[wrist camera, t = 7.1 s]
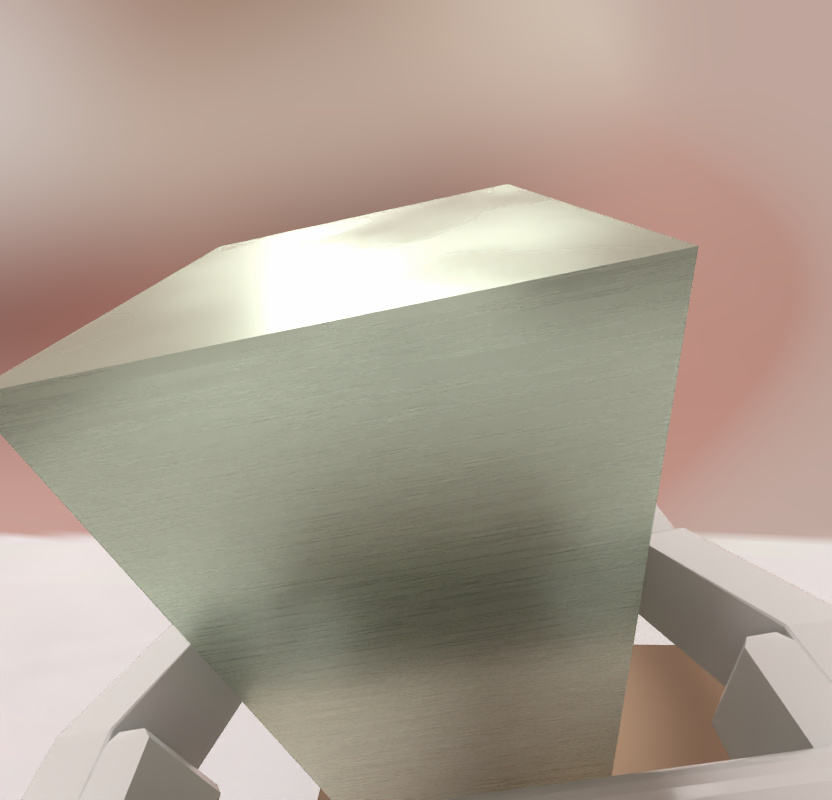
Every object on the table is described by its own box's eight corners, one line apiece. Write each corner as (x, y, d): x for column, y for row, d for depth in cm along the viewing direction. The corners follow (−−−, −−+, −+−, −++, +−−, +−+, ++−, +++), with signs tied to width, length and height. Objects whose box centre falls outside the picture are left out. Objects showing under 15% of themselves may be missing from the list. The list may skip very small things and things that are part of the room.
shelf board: (291, 985, 12) (225, 968, 10) (362, 654, 19) (334, 601, 17) (1629, 1270, 7) (2130, 1368, 5) (1022, 669, 14) (1102, 597, 12)
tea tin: (602, 834, 9) (700, 246, 3) (386, 861, 10) (-36, 395, 3) (534, 614, 14) (505, 183, 7) (388, 638, 14) (222, 245, 7)
